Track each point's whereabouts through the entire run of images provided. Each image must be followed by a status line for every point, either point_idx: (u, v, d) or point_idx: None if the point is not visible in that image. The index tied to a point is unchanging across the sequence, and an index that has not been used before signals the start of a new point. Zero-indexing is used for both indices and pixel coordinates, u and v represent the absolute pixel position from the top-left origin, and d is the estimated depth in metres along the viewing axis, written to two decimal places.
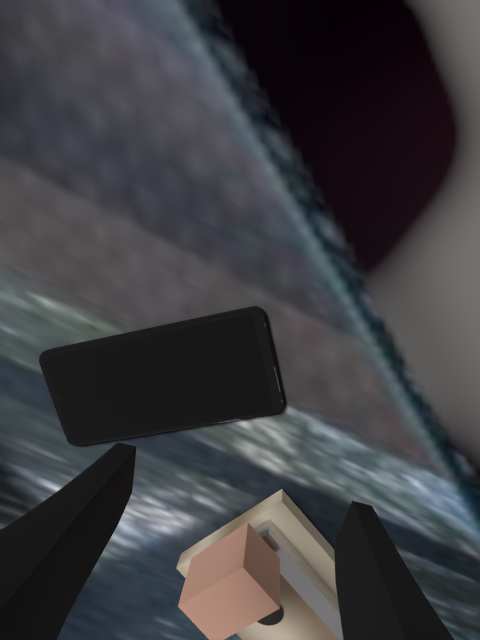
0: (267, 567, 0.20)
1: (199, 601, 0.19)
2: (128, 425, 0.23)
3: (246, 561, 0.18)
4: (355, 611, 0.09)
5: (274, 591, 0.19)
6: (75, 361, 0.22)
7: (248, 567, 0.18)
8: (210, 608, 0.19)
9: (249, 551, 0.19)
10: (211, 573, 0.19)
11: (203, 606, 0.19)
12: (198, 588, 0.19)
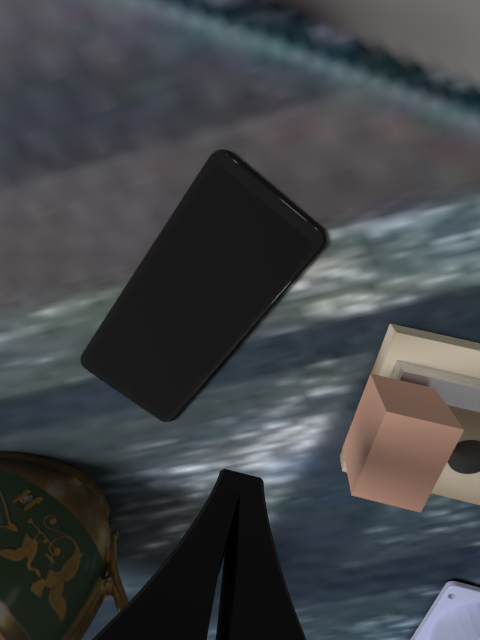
0: (422, 401, 0.15)
1: (369, 477, 0.15)
2: (196, 368, 0.21)
3: (388, 405, 0.14)
4: (226, 577, 0.10)
5: (445, 417, 0.14)
6: (108, 344, 0.21)
7: (394, 409, 0.14)
8: (386, 477, 0.15)
9: (387, 396, 0.15)
10: (363, 444, 0.15)
11: (377, 479, 0.15)
12: (359, 465, 0.15)
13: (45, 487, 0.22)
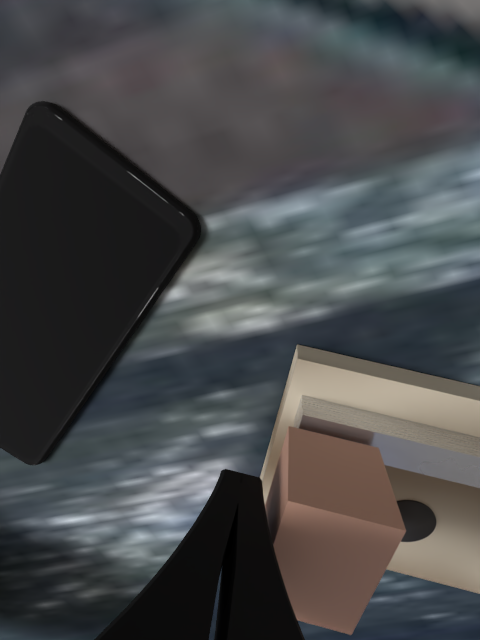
0: (352, 474, 0.10)
1: None
2: (57, 400, 0.16)
3: (295, 487, 0.09)
4: (225, 576, 0.10)
5: (380, 507, 0.09)
6: None
7: (302, 496, 0.09)
8: (298, 588, 0.10)
9: (300, 468, 0.10)
10: None
11: (286, 590, 0.10)
12: None
13: None
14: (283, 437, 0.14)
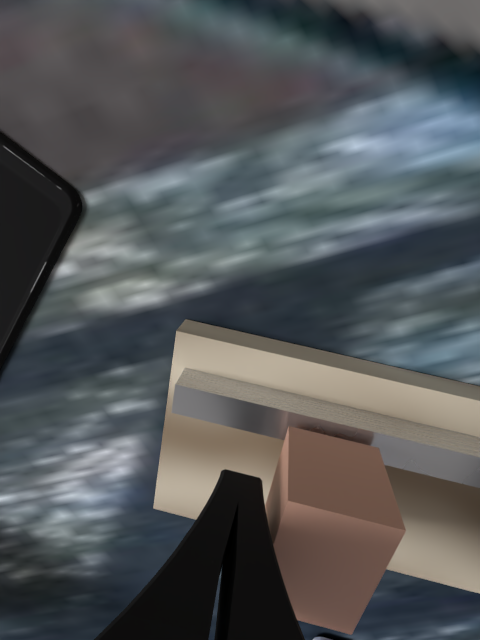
0: (352, 474, 0.10)
1: None
2: None
3: (294, 487, 0.09)
4: (225, 576, 0.10)
5: (381, 506, 0.09)
6: None
7: (301, 496, 0.09)
8: (298, 587, 0.10)
9: (300, 468, 0.10)
10: None
11: (286, 589, 0.10)
12: None
13: None
14: None
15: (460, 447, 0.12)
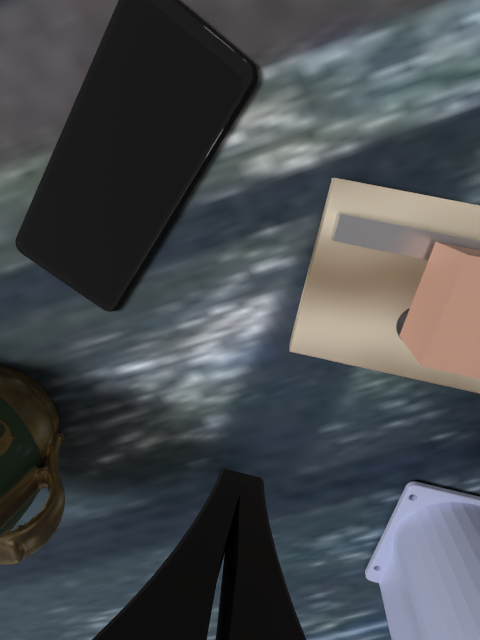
0: None
1: (442, 341, 0.14)
2: (135, 243, 0.19)
3: (467, 253, 0.13)
4: (226, 576, 0.10)
5: None
6: (42, 221, 0.20)
7: (475, 255, 0.13)
8: (462, 340, 0.13)
9: (462, 250, 0.13)
10: (433, 309, 0.14)
11: (451, 343, 0.14)
12: (430, 331, 0.14)
13: None
14: (321, 253, 0.17)
15: None
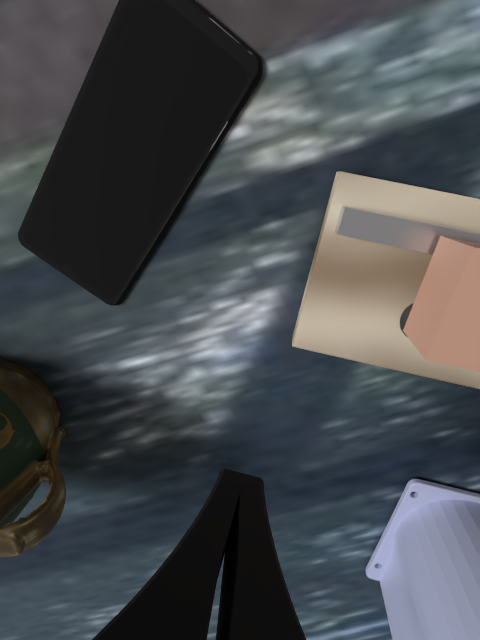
0: None
1: (447, 335, 0.14)
2: (138, 237, 0.19)
3: (472, 246, 0.13)
4: (226, 577, 0.10)
5: None
6: (45, 214, 0.19)
7: None
8: (467, 334, 0.13)
9: (467, 243, 0.13)
10: (438, 302, 0.14)
11: (456, 337, 0.14)
12: (435, 325, 0.14)
13: None
14: (325, 248, 0.17)
15: None
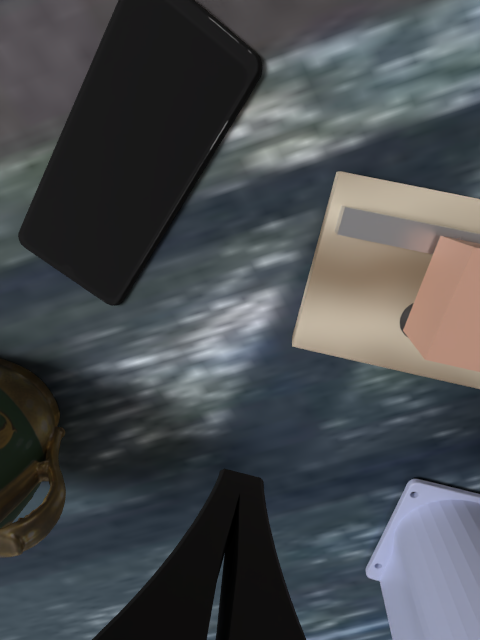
0: None
1: (447, 335, 0.14)
2: (138, 237, 0.19)
3: (472, 246, 0.13)
4: (226, 577, 0.10)
5: None
6: (45, 215, 0.19)
7: None
8: (467, 334, 0.13)
9: (467, 243, 0.13)
10: (438, 302, 0.14)
11: (456, 337, 0.14)
12: (435, 325, 0.14)
13: None
14: (325, 248, 0.17)
15: None
